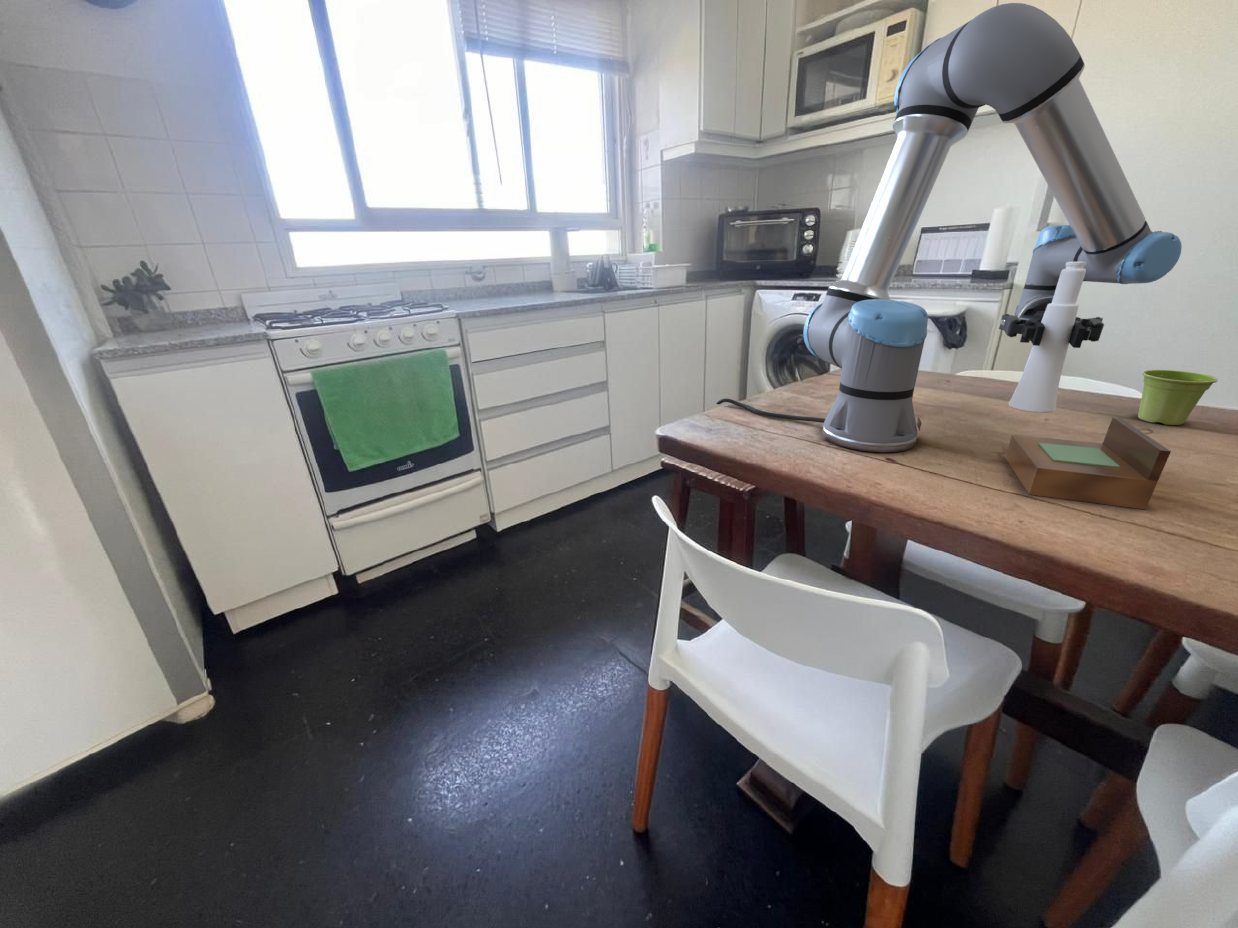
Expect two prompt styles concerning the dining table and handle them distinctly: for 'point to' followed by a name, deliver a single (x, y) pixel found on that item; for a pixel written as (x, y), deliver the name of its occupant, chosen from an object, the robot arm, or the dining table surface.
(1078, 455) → the wooden block green inlay
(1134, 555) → the dining table surface
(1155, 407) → the plant pot
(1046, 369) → the cosmetic bottle
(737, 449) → the dining table surface
